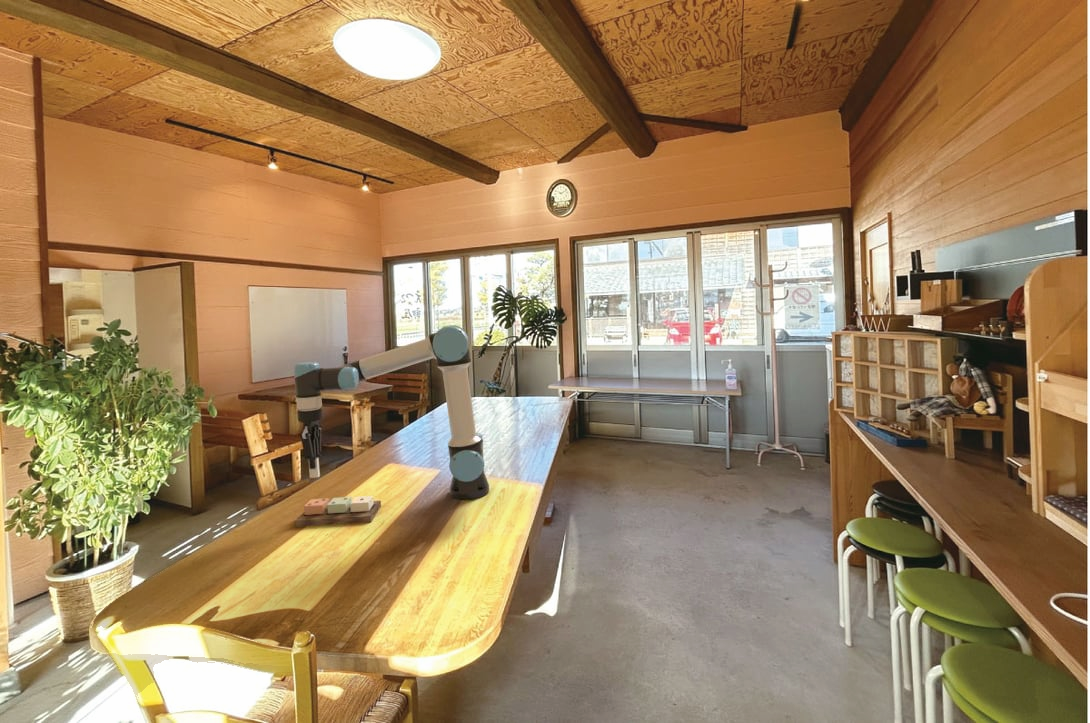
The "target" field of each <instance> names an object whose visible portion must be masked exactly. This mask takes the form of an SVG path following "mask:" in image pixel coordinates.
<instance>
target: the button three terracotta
mask: <svg viewBox="0 0 1090 723" xmlns="http://www.w3.org/2000/svg"><path fill="white" fill-rule="evenodd" d="M329 502H330V498H329V497H326V498H311V499H310V500H309V501H308V502H307V503H306V504H304V505H303V511H304V512H303V513H305V515H310V514H323V513H324V512H325V511H326V510H327V505H328V503H329Z"/></svg>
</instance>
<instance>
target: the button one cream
mask: <svg viewBox="0 0 1090 723" xmlns="http://www.w3.org/2000/svg"><path fill="white" fill-rule="evenodd" d="M374 501H375V500H374V495H362V496H355V497H354V498H353V499H352V502H351V503H350V508H351V512H360V511H369V510H370V509H371V507H372V506H373V504H374Z"/></svg>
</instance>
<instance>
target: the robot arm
mask: <svg viewBox="0 0 1090 723" xmlns="http://www.w3.org/2000/svg"><path fill="white" fill-rule="evenodd" d="M469 338H470V337H469V336H468V333H467V332H466V330H465V329H464V328H462V327H461V326H458V325H453V324H452V325H447V326H446V325H445V326H443V327H441V328H440V329H439V330H437V331H436V332H434V333H431V334H428V335H427V336H426V338H424V339H421V340H419V341H414V342H412V343H409V344H406V345H402V346H399V347H396V348H393V349H390V350H387V351H384V352H380V353H378V354H375V355H374V354H373V355H371V356H368V357H364V358H362V359H359V360H356V361H352V362H348V363H346V364H343V365H341V366H338V367H325V368H324V367H320V364H319V363H318V362H313V361H312V362H310V361H308V362H300V363H296V364H295V365H294V372H293V374H294V376H293V379H294V386H295V387H294V388H295V398H296V399H295V403H296V408H297V411H296V414H297V421H298V422H299V423H303V425H302V433H301V432H300V433H299V438H300V439H301V445H302V449H303V450H302V451H303V455H304V459H305V460H307V461H308V470H309V471H308V472H309V479H313V478H315V479H316V478H319V477H320V476H321V472H320V462H319V461H320V460H319V459H320V458H321V457H322V431H323V424H319V421H320V420H322V419H323V417H324V416H323V414H324V413H323V408H322V407H323V402H322V401H323V400H322V399H323V398H322V392H323V391H348V390H355V389H356V388H358V385H359V384H360V382H363V381H367V380H369V379H372V378H375V377H378V376H381V375H385V374H388V373H391V372H394V371H398V370H400V369H404V368H407V367H409V366H413V365H416V364H419V363H421V362H425V361H426V362H427V361H428V360H432V359H435V360H436V367H437V368H438V369H439V370H440V371H441V372H442V378H443V385H444V392H445V399H446V407H447V415H448V422H449V429H450V437H451V438H450V439H449V441H448V442H447V447H448V448H447V449H448V455H449V464H448V465H449V466H448V468H449V471H450V473H451V475H452V478H451V482H450V485H449V496H450V497H452V498H454V499H457V500H474V499H477V498H481V497H484V496H486V495H487V494H489V493H490V484H489V481H488V479H487V476H486V474H485V458H484V443H483V442H484V439H483V438H484V437H483V434H482V433H479V432H476V431H477V430H476V424H475V418H474V410H473V403H472V402H473V400H472V394H471V385H470V379H469V378H470V377H469V370H468V368H469V366H470V365H471V363H472V359H471V352H470V351H471V350H470V339H469Z"/></svg>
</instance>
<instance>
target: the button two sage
mask: <svg viewBox="0 0 1090 723" xmlns="http://www.w3.org/2000/svg"><path fill="white" fill-rule="evenodd" d="M352 501H353V499H352V496H346V497H345V496H343V497H332V499H331V500H329V503H328V505H327V509H328V513H344V512H347V511H348V509H349V508H350V503H351V502H352Z"/></svg>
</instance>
